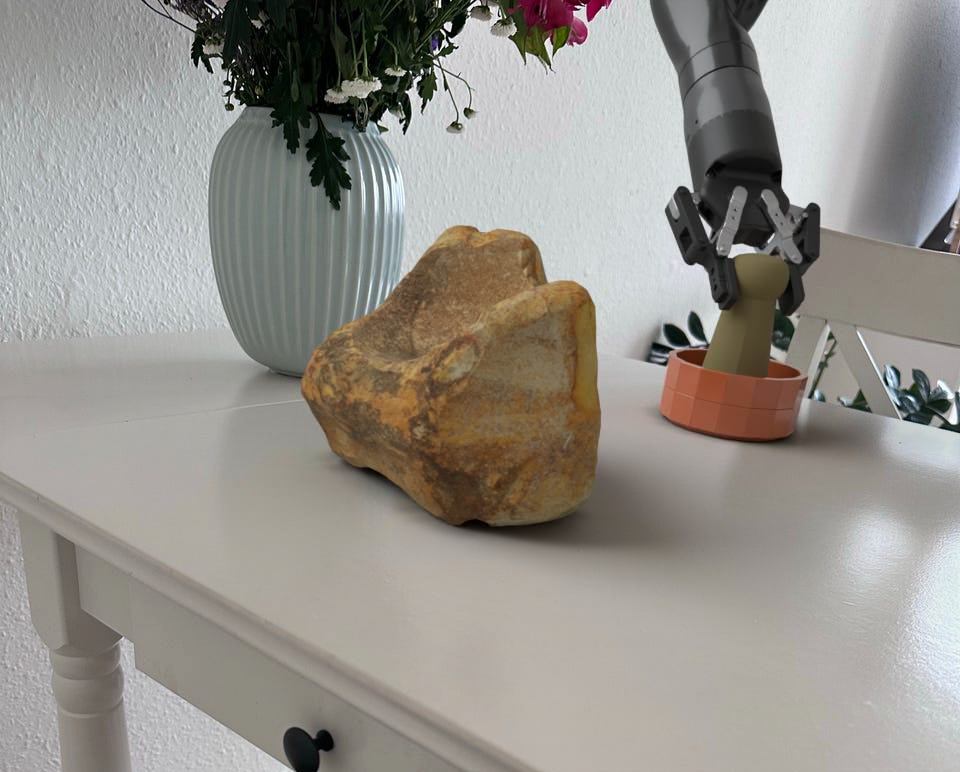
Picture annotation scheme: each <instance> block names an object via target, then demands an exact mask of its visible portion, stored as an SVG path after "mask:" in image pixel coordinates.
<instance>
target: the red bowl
mask: <svg viewBox="0 0 960 772" xmlns="http://www.w3.org/2000/svg"><path fill="white" fill-rule="evenodd" d="M707 351H708V348H700V347H699V348H698V347H697V348H693V347H691V348H677V349H673V350H670V351H669V352H668V358H667V362H666V368H665V373H664V377H663V383H662V387H661V392H660V396H659V402H658V412H659V413H660V414H661V415H663V416H665V417H666V418H667V419H668V420H669V421H670V422H672V423H673V424H675V425H677V426H679V427H681V428H684V429H686V430H689V431H693V432H697V433H700V434H704V435H708V436H712V437H717V438H724V439H729V440H737V441H745V442H747V441H749V442H768V441H769V442H770V441H774V440H777V439H780V438H786V437H788V436H790V435H791V434H793V433H795V432H794V431H795V428H796V426H797V425H796V424H797V421H798V417H799V413H800V410H801V405H802V402H803V399H804V394H805V391H806V387H807V383H808V379H809V375H808V373H807V372H806V371H805V370H804V369H801V368H799V367H797V366H795V365H793V364H790V363H787V362H782V361H780V360H776V359H772V358H770V361H769V369H768V378H762V377H752V376H745V375H738V374H732V373H726V372H722V371H717V370H713V369H708V368H704V367H702V365H703V362H704V359H705V356H706V354H707Z"/></svg>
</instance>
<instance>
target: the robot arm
mask: <svg viewBox="0 0 960 772" xmlns="http://www.w3.org/2000/svg"><path fill="white" fill-rule="evenodd" d="M768 2H769V0H649V6H650V11H651V15H652V19H653V21H654V24H655V27H656V30H657V32H658V35H659V37H660V39H661V42H662V44H663V47H664V49H665V51H666V54H667V56H668V58H669V60H670V62H671V64H672V66H673V67H674V70H675V73H676V75H677V83H678V90H679V96H680V102H681V106H682V114H683V119H682V121H683V136H684V137H683V138H684V144H685V148H686V149H685V150H686V155H687V160H688V167H689V173H690V179H691V183H692V190H693V192H691V190H690V189H689V187H687V186H685V185H678V187H677V188H676V190H675V191H674V193H673V194H672V196H671V198H670V200H669V201H668V203H667V205H666V206H665V208H664V214H665V216H666V218H667V221H668V224H669V226H670V230H671V232H672V234H673V236H674V240H675V242H676V244H677V247H678V249H679V253H680V255H681V258H682V260H683V262H684V263H685V264H686V265H688V266H695V265H696V264H697V265H699V266H701V267H702V268H703V270H704V271H705V273H707V276H708V281H709V287H710V294H711V298H712V300H713V302H714V303H715V304H717V307H718V310H720V311H722V310H726V311H729V310H730V309H731V307H732V306H733V305H734V304H735V302H736V301H737V300H738V297H739V289H738V284H737V278H736V273H735V267H734V261H733V257H729V255H730V254H731V251H732V247H733V246H735V245H745V246H746V247H747V246H748V247H750V248H753V250H754V252H755V253H759V254H766V255H771V256H774V257H776V258H778V259H781V260H783V261H784V262H785V263H786V264H787V265H788V268H789V281H788V285H787V287H786V289H785V291H784V293H783V294H782V295H781V296H780V297H779V298H778V299H777V303H778V309H779V314H780V316H782V317H792V316H793V315H794V314H795V313H796V312H797V310H798V309H799V308H800V307H801V305H802V303H804V301H805V298H806V292H805V287H804V282H803V278H802V277H804V275H805V274H806V273H807V272H808V270H809V269H810V268H811V266H812V265H813V264H814V263H815V262H817V260H818V259H819V258H820V255H821V207H820V205H819V204H818V203H816V202H813V201H811V202H808V204H807V205H806V207H802V206H799V205H795V204H793V203H791V202H790V199H789V196H788V195H787V193H785V191H784V189H783V185H782V181H783V162H782V156H781V152H780V147H779V142H778V138H777V137H778V136H777V131H776V127H775V126H776V125H775V123H774V122H775V121H774V117H773V113H772V107H771V103H770V100H769V96H768V95H767V92H766V90H765V87H764V83H763V78H762V73H761V67H760V63H759V59H758V53H757V50H756V47H755V44H754V41H753V39H752V38H751V36H750V34H749V32H750V31H751V29H752V28H753V27H754V26H755V24H756V22H757V21H758V19H759V17H760V16H761V15H762V12H763V11H764V9H765V7H766V5H767V4H768ZM702 220H704V221H705V223H706V224H707V225H708V226H709V227H710V234H709V236H708V234H707V232H706V231H707V230H706V228H705V226H704V224H703V221H702ZM772 236H773V237H772ZM770 239H771V240H770ZM769 240H770V241H769ZM768 241H769V242H768ZM781 254H782V255H783V257H784V259H783V257H782V255H781Z"/></svg>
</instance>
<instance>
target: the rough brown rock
mask: <svg viewBox="0 0 960 772" xmlns="http://www.w3.org/2000/svg"><path fill="white" fill-rule="evenodd" d="M596 313H597V310H596V305H595V302H594V300H593V299H592V296H591V294H590V292H589V290H588V289H587V288H586V287H584V286H583V285H581V284H580V283H578V282H576V281H574V280H568V279H567V280H565V279H564V280H555V281H551V282H550V281H549V282H548V278H547V274H546V271H545V266H544V262H543V258H542V254H541V250H540V248H539V246H538V244H536V243H535V241H534V240H533V239H532V238H531V237H530V236H529V235H527V234H525V233H523V232H521V231H518V230H511V229H505V228H495V229H492V230H490V231H486V232H485V231H480V230H479V229H478V228H477V227H476V226H473V225H463V224H457V225H454V226H451V227H449V228H446V229H445V230H444V231H443V232H442V233H441V234H440V235H438V236H437V238H436V239H435V241H434V242H433V243H432V244H431V245H430V246H428V248H427V249H426V250H425V251H424V252H423V254H422V255H421V256H420V258H419V259H418V260H417V262H416V263H415V265H414V266H413V268H412V269H411V271H408V273H406V274H405V275H404V276H403V278H402V279H401V280H400V281H399V282H398V283H397V285H396V286H395V287H394V288H393V290H392V291H391V292H390V293H389V295H388V296H387V297H386V298H385V299H384V300H383V301H382V302H381V303H380V304H379V305H378V306H377V307H376V308H375V310H373V311H370V312H369V313H366V314H365V315H363V316H361V317H359V318H357V319H355V320H352V321H349V322H346V323H344V324H343V325H342V326H340V327H338V328H337V329H335V330H334V331H333V332H331V333H330V334H329V335H328V336H327V338H325V339H324V341H323V342H321V343H320V344H319V345H318V346H317V347H316V348H315V349H314V351H313V352H312V354H311V357H310V359H309V362H308V364H307V366H306V368H305V371H304V373H303V375H302V378H301V379H300V380H301V382H300V395H301V396H302V398H303V399H304V401H305V402H306V403H307V405H308V407H309V409H310V412H311V414H312V415H313V417H314V419H315V420H316V421H317V423H318V425H319V426H320V428H321V429H322V431H323V433H324V436H325V437H326V441H327V443H328V446H329V448H330V450H331V452H332V453H333V454H335V455H336V456H338V457H339V458H340V459H342V460H343V461H345V462H346V463H348V464H349V465H351V466H353V467H357V468H369V469H372V470H374V471H375V472H377V473H380V474H382V475H383V476H384V477H386V478H387V479H388V480H390V481H391V482H392V483H394V484H395V485H397V486H398V487H400V489H402V490H403V491H404V492H405V493H406V494H407V495H408V496H409V497H410V498H411V499H412V500H413V501H414V502H416V503H417V504H418V505H419V506H420V507H422V508H423V509H424V510H426V511H427V512H429V513H430V514H432V515H433V516H435V517H437V518H438V519H440V520H442V521H445V522H446V523H448V524H450V525H452V526H461V525H462V524H464V523H465V522H467V521H472V520H479V521H481V522H483V523H486V524H488V525H489V526H490V527H506V526H514V527H515V526H529V525H536V524H540V523H546V522H551V521H554V520H558V519H562V518H565V517H567V516H569V515H571V514H572V513H574V512H576V511H577V510H578V509H580V508H581V507H582V506H583V505H584V504H585V503H586V502H588V498H589V497H590V495H591V494H592V492H593V487H594V483H595V479H596V473H597V471H596V470H597V465H598V448H599V443H600V435H601V429H602V409H601V402H600V395H599V389H598V375H599V360H598V359H599V358H598V349H597V314H596Z"/></svg>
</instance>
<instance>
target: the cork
mask: <svg viewBox="0 0 960 772" xmlns="http://www.w3.org/2000/svg"><path fill="white" fill-rule="evenodd" d="M732 258H733V261H734V267H735V273H736V278H737V284H738V289H739V297H738V300H737V301H736V302H735V304H734V305H733V306H732V307H731V309H730V310H729V311H726V310H720V314H719V317H718V320H717V322H716V325H715V328H714V331H713V335H712V337H711V340H710V343H709V346H708V348H707V349H708V351H707V354H706V356H705V359H704V362H703V365H702V367H704V368H708V369H713V370H717V371H722V372H726V373H732V374H738V375H745V376H752V377H762V378H768V369H769V361H770V359H771V353H772V351H771V350H772V344H773V343H772V342H773V334H774V327H775V326H774V325H775V318H776V317H775V316H776V310H777V309H776V308H777V302H778V298H779V297H780V296H781V295H782V294H783V293H784V291H785V289H786V287H787V285H788V281H789V268H788V265H787V264H786V263H785V262H784V261H783V260H784V259H783V260H781V259H778V258H776V257H774V256H771V255H766V254H759V253H756V252H746V253H739V254H736V255H735V256H733V257H732Z"/></svg>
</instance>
